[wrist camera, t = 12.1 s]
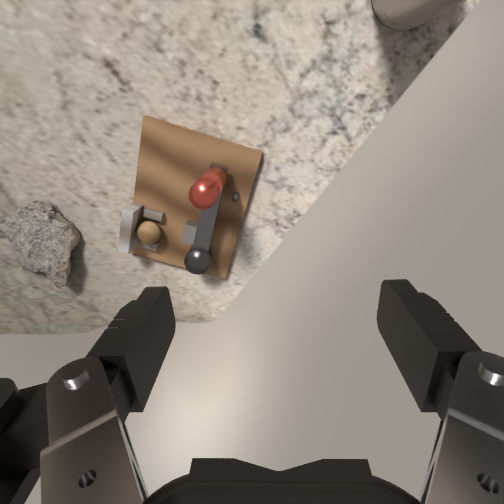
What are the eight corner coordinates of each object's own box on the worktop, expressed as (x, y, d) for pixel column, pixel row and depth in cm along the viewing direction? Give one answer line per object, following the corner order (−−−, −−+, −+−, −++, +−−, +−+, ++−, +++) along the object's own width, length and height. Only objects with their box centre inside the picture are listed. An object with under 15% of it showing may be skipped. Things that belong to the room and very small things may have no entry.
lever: (209, 268, 49) (194, 313, 38) (180, 260, 49) (156, 303, 38) (234, 168, 42) (223, 187, 31) (200, 158, 41) (177, 174, 31)
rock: (45, 200, 44) (83, 288, 49) (67, 194, 48) (100, 276, 53) (-20, 211, 47) (21, 292, 53) (5, 205, 51) (41, 281, 56)
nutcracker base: (146, 115, 42) (131, 115, 37) (262, 151, 43) (262, 156, 38) (130, 249, 51) (116, 263, 46) (225, 275, 52) (222, 291, 48)
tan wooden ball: (143, 215, 47) (134, 222, 44) (165, 221, 47) (158, 229, 44) (140, 235, 48) (131, 243, 45) (162, 240, 49) (154, 250, 45)
